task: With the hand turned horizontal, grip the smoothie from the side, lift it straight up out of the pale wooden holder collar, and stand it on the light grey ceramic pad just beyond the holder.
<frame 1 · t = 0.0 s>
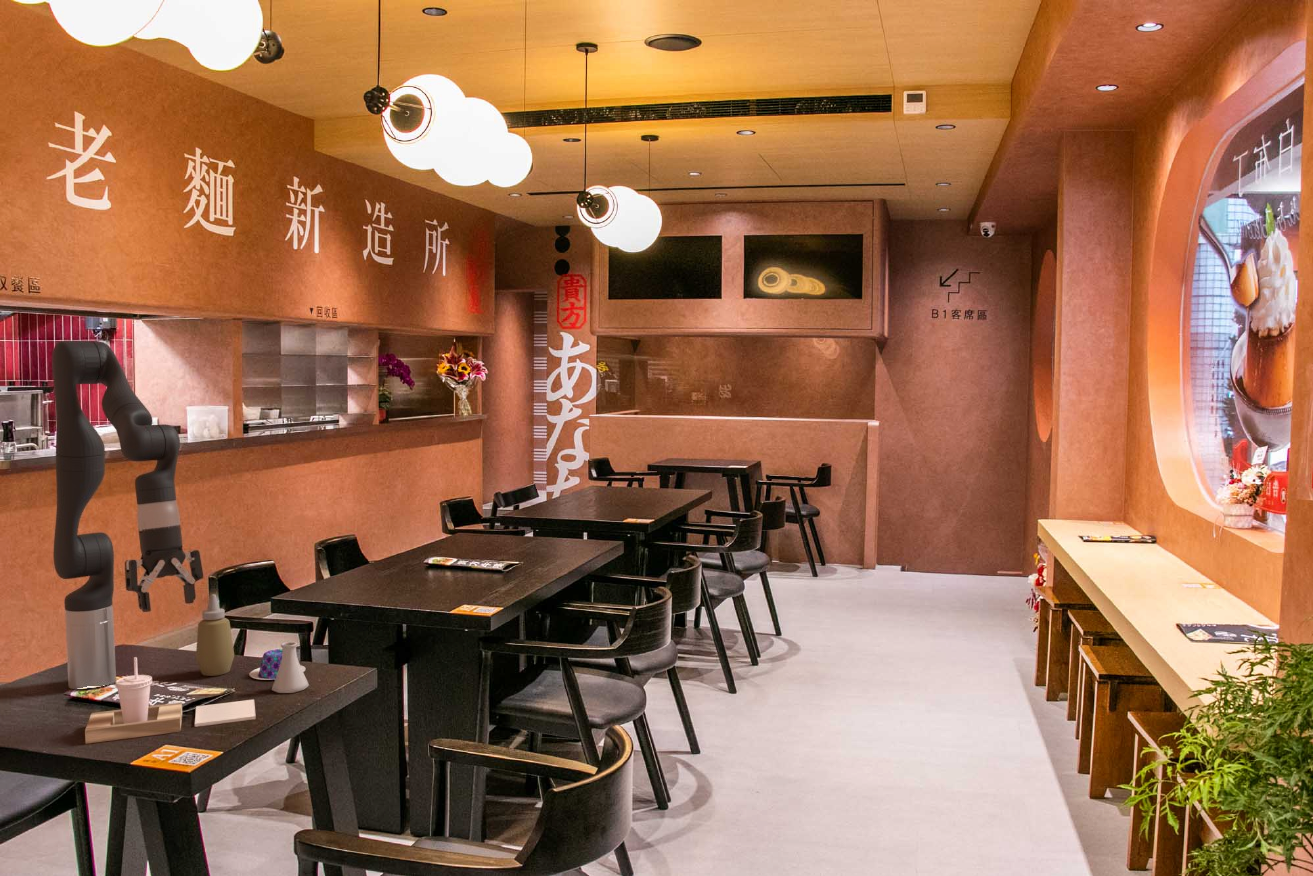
hand: (168, 607, 204), 22 cm above the table, tool pointing down, fingers open, 8 cm apart
holder collar: (135, 728, 200), on the table
ceramic pad: (225, 714, 208), on the table
flask: (290, 690, 224), on the table
pudding: (277, 675, 236), on the table
smoothie: (135, 729, 200), resting in holder collar
squeeze bottle: (215, 673, 236), on the table
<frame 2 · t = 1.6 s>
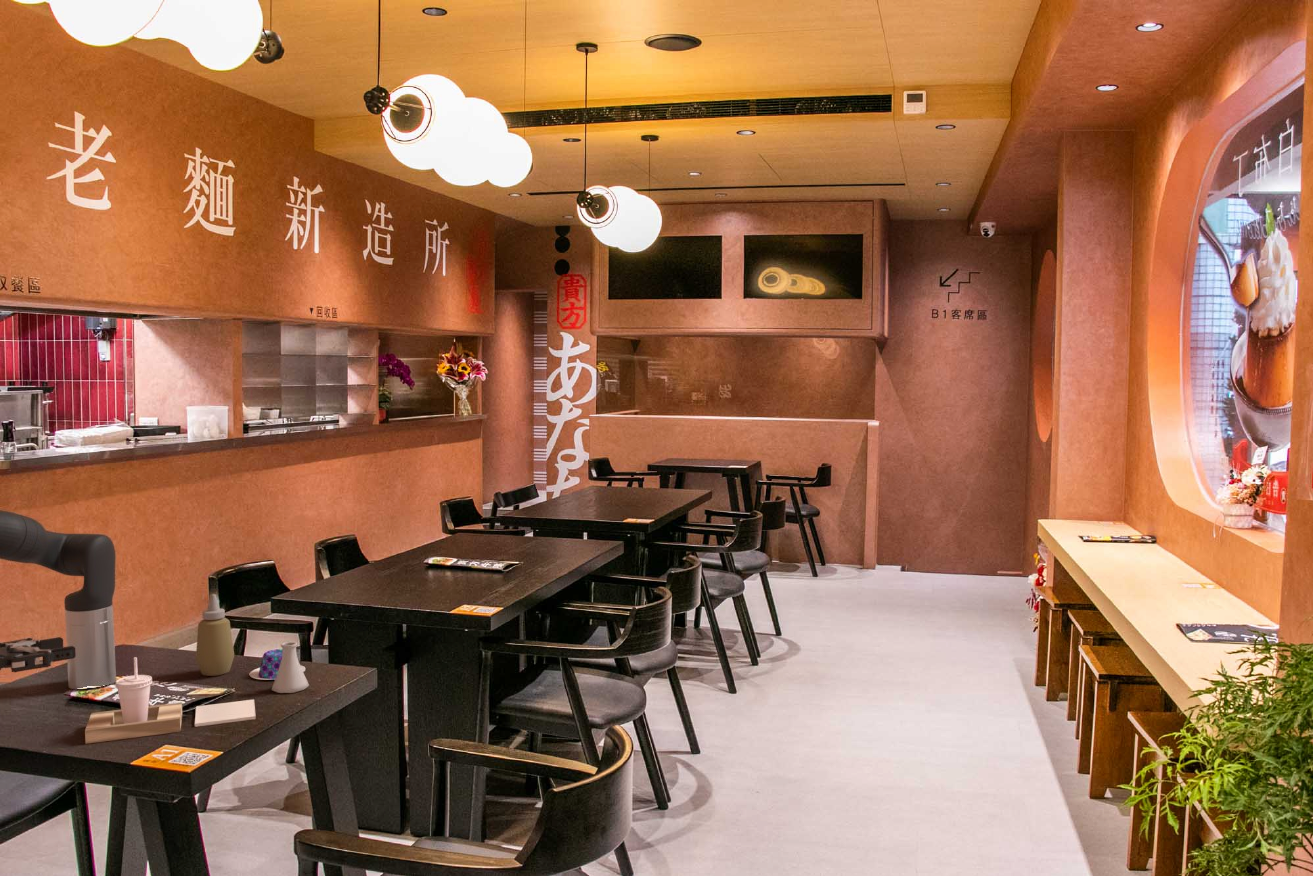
hand: (68, 647, 192), 18 cm above the table, tool horizontal, fingers open, 8 cm apart
nothing on the table moved.
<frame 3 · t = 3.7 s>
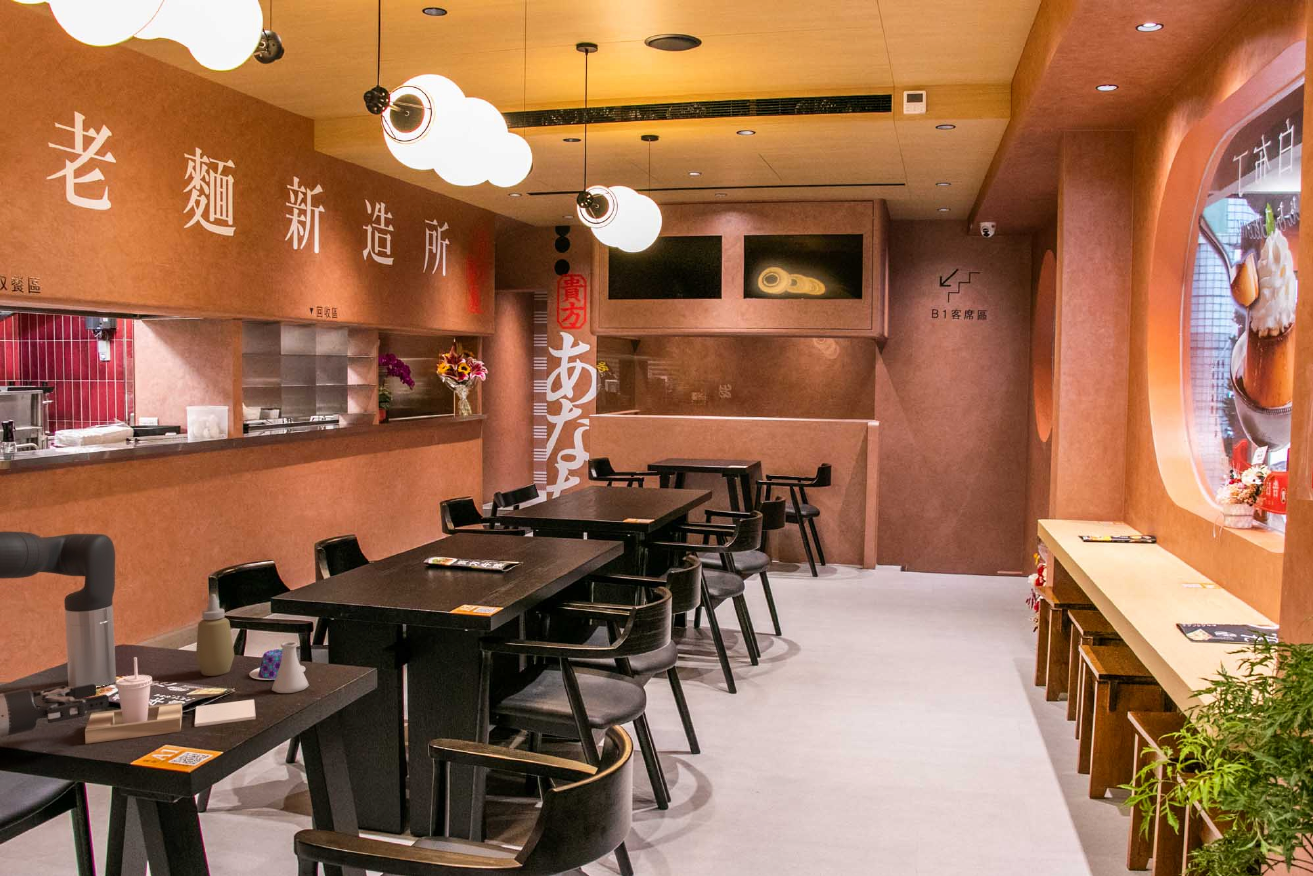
hand: (101, 694, 196), 8 cm above the table, tool horizontal, fingers open, 8 cm apart
nothing on the table moved.
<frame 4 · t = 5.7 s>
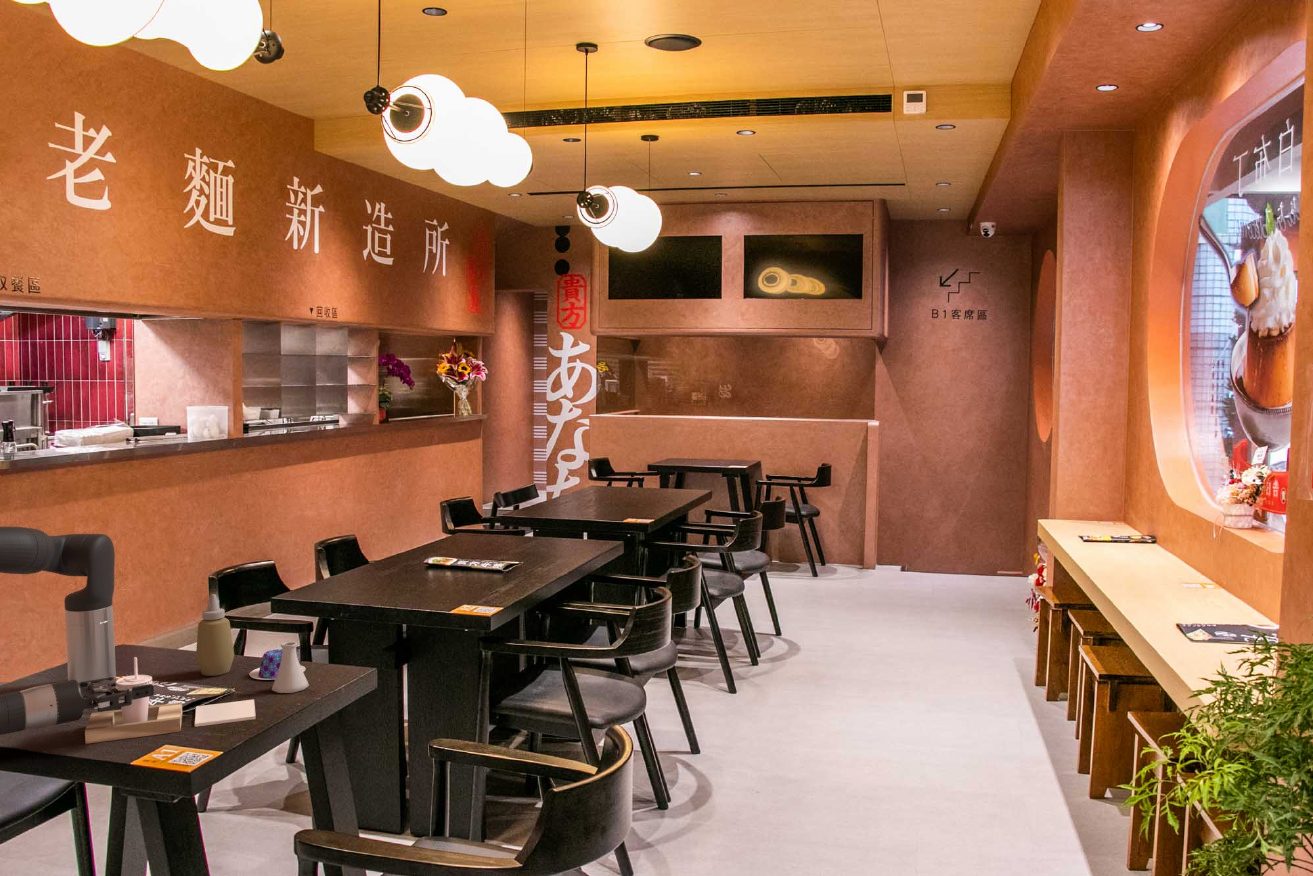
hand: (147, 685, 201), 8 cm above the table, tool horizontal, fingers closed on smoothie, 6 cm apart
smoothie: (135, 729, 200), resting in holder collar, touching gripper
everything else where it was.
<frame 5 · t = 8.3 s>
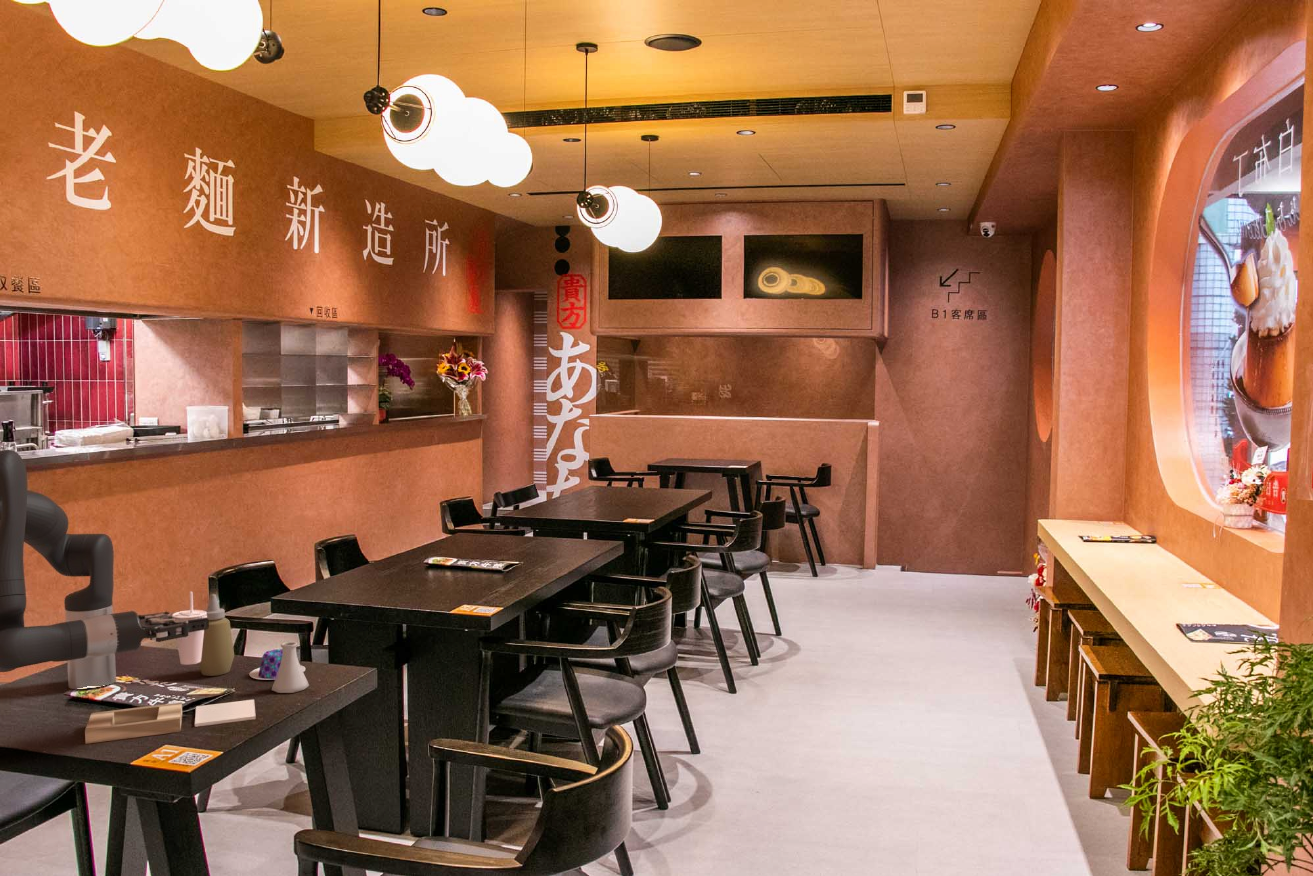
hand: (202, 619, 205), 20 cm above the table, tool horizontal, fingers closed on smoothie, 6 cm apart
smoothie: (190, 663, 204), point 11 cm above the table, touching gripper
everything else where it was.
when the fingers open (10 cm above the table, at t = 11.2 s): smoothie stays where it is, resting on ceramic pad.
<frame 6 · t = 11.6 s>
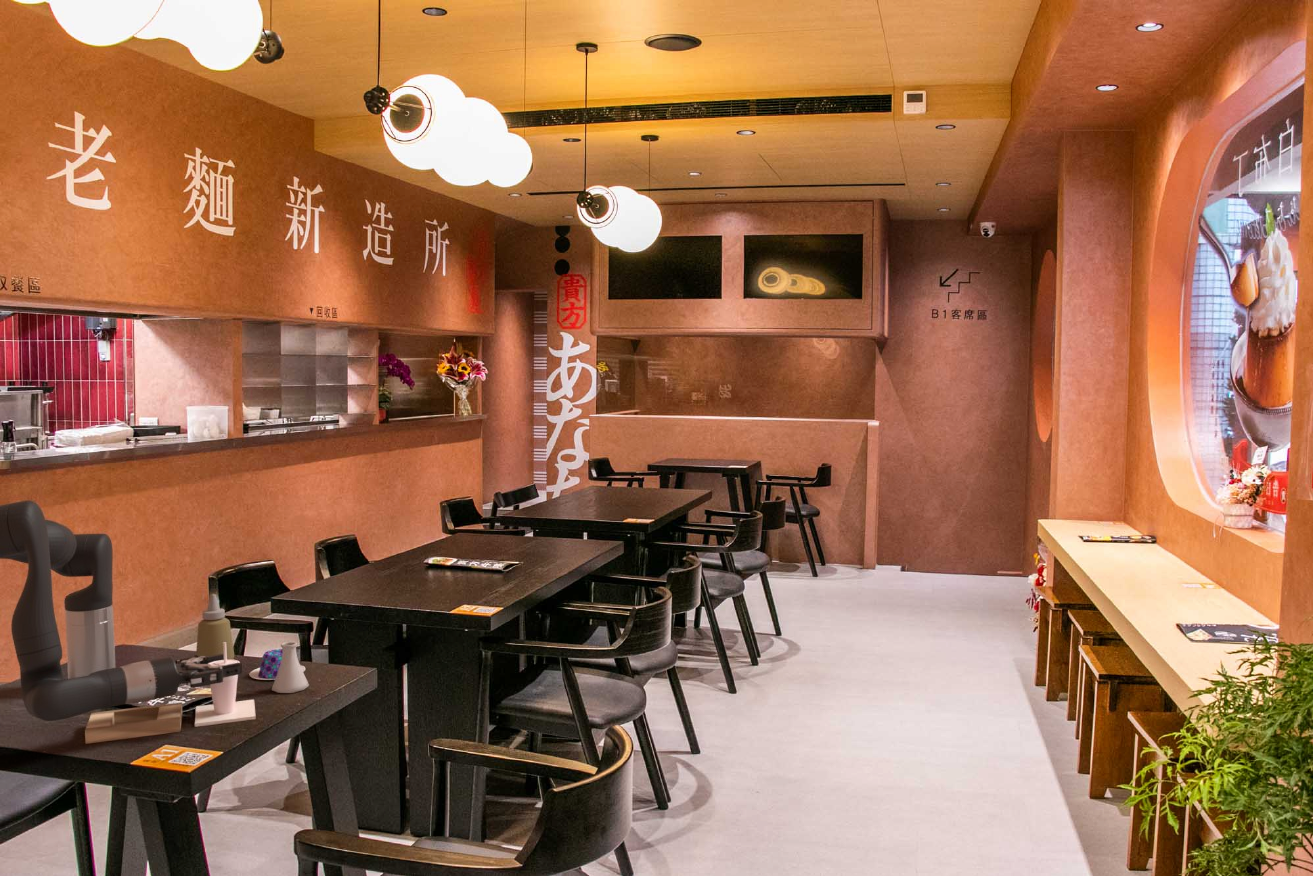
hand: (233, 663, 209), 10 cm above the table, tool horizontal, fingers open, 8 cm apart
smoothie: (224, 712, 208), resting on ceramic pad
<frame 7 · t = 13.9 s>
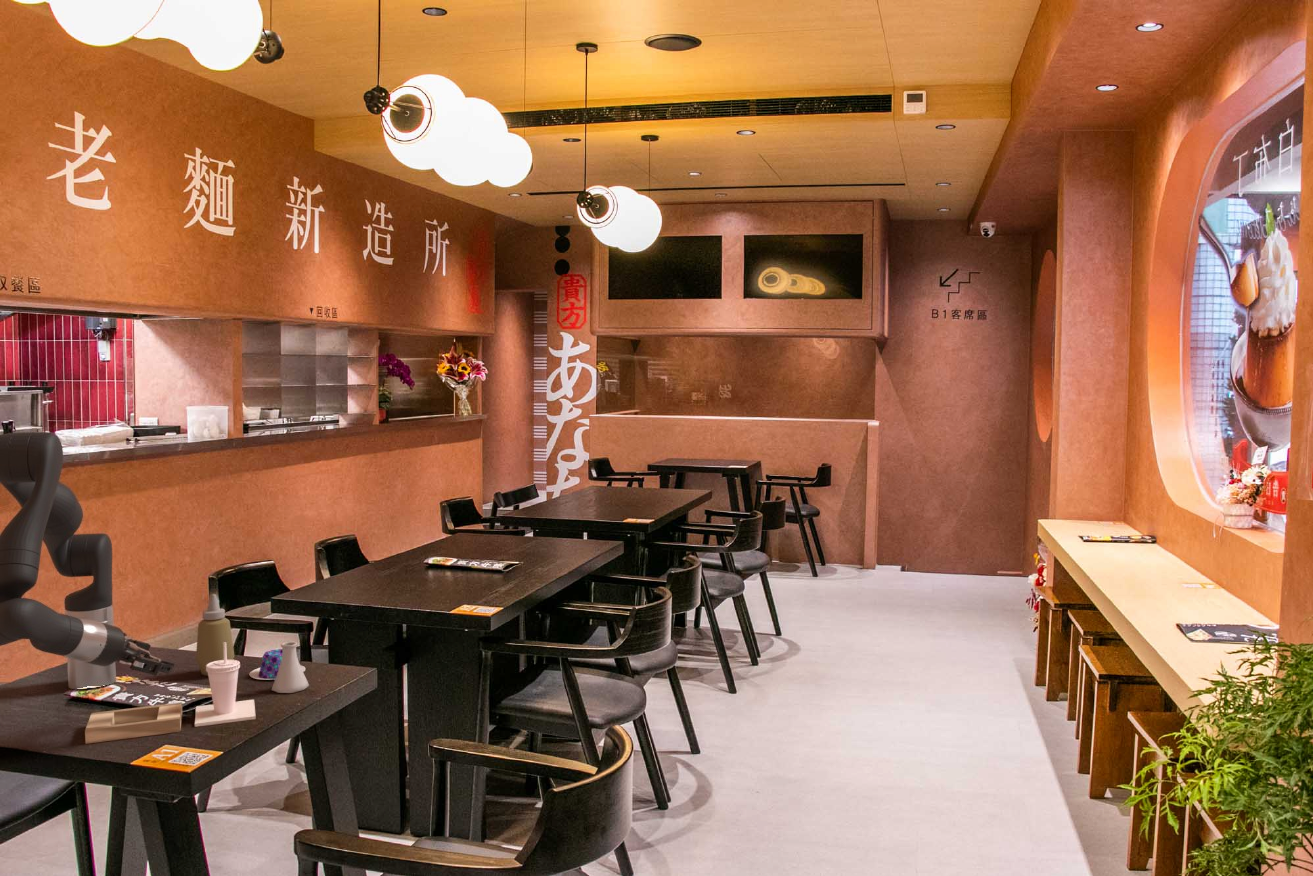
hand: (159, 658, 205), 12 cm above the table, tool tilted 65°, fingers open, 8 cm apart
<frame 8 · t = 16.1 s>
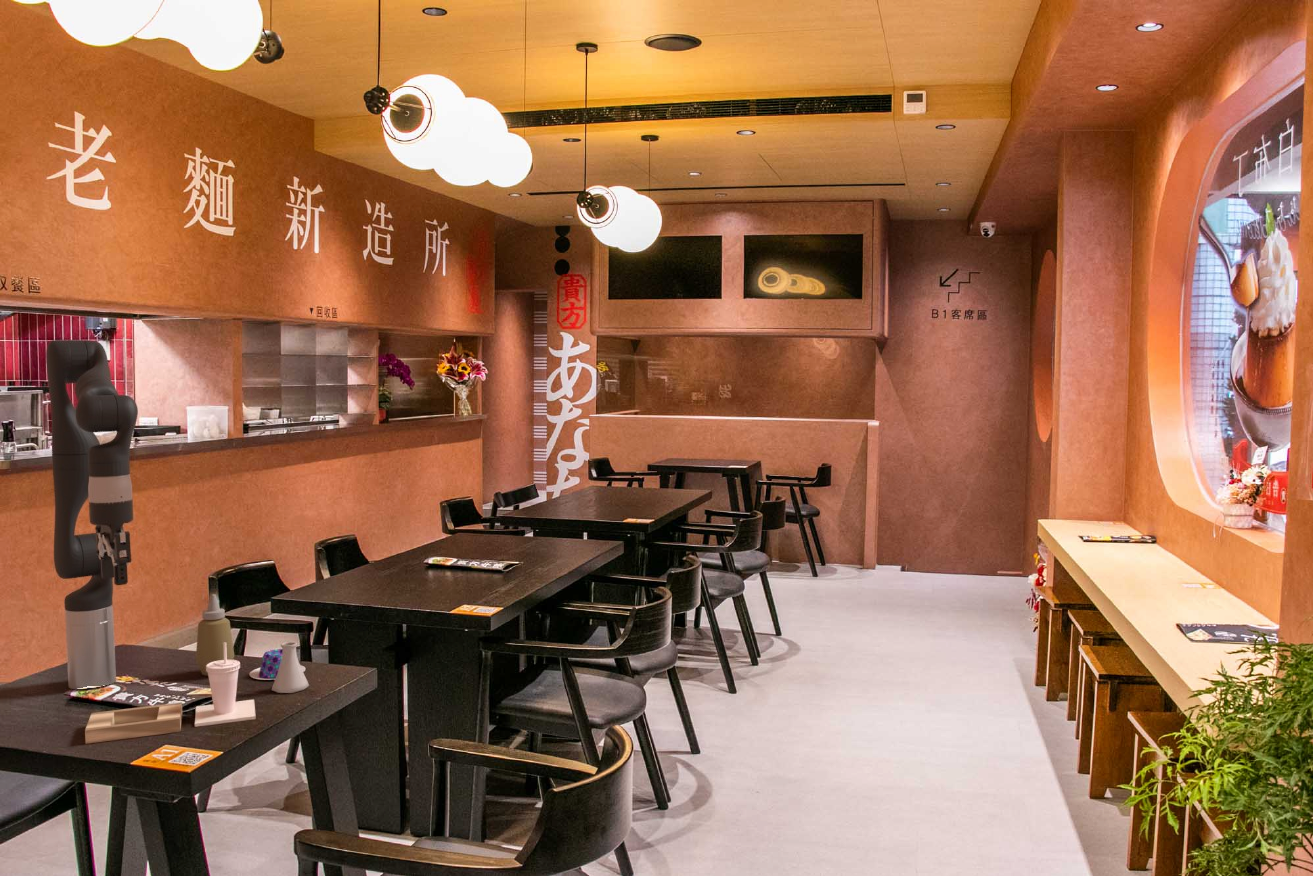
hand: (114, 581, 202), 28 cm above the table, tool pointing down, fingers open, 8 cm apart
at the end: smoothie inside the target area (0.2 cm from its centre), resting on ceramic pad; smoothie tilted 0°; the gripper is holding nothing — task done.
